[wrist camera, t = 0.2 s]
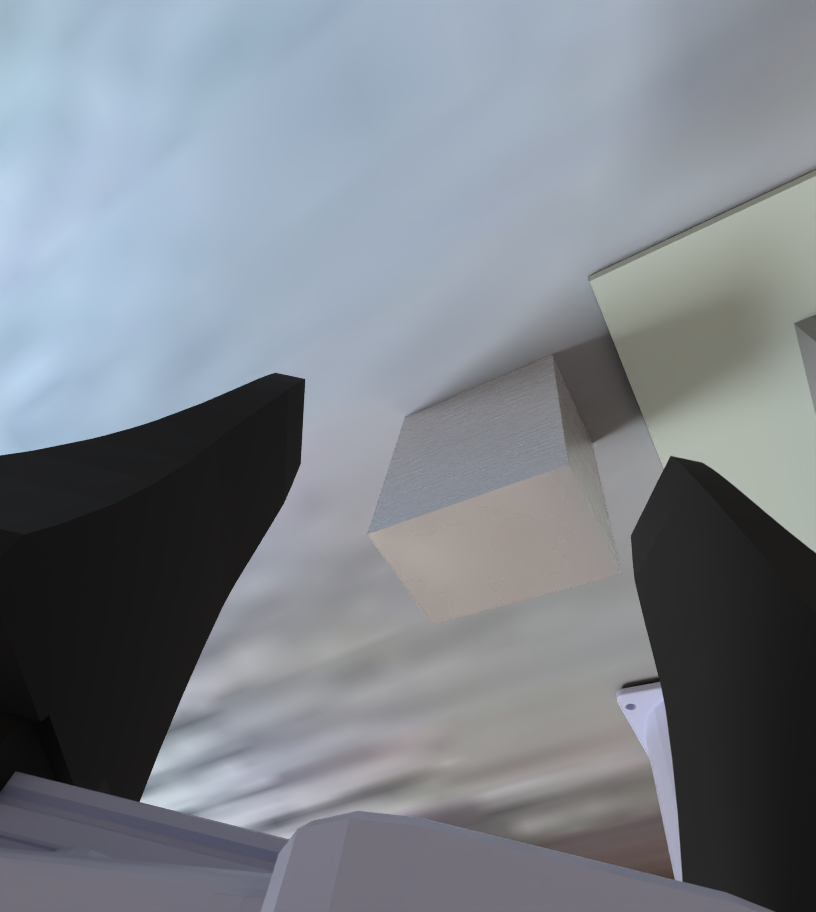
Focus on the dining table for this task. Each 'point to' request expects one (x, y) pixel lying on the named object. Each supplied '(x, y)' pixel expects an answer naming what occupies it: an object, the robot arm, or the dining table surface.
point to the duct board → (729, 347)
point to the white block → (495, 498)
